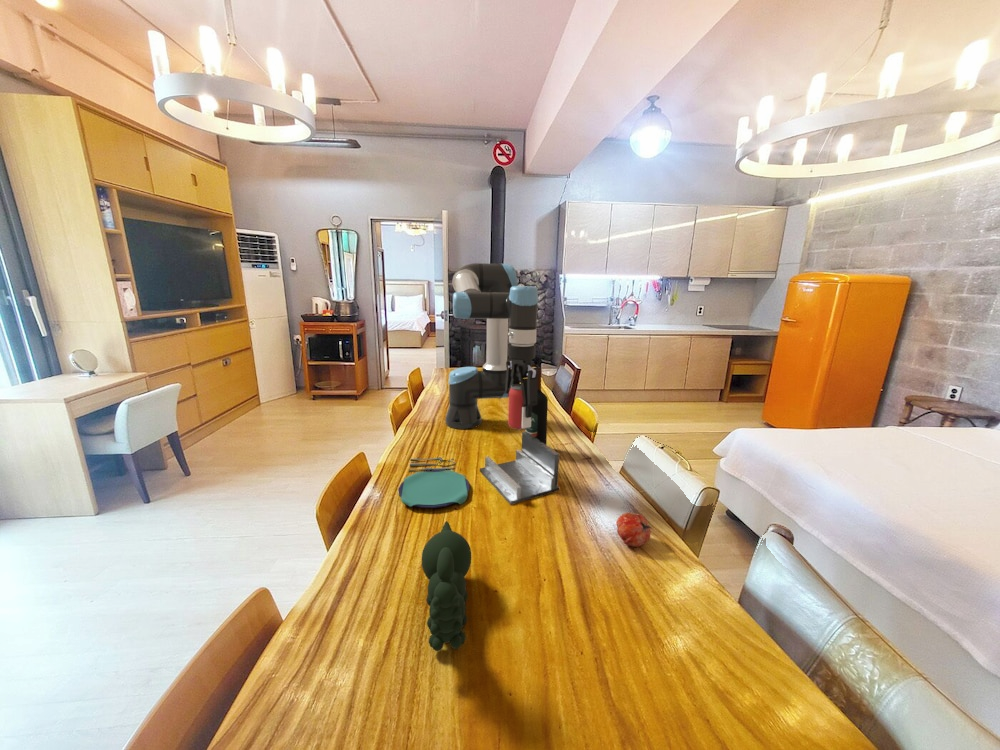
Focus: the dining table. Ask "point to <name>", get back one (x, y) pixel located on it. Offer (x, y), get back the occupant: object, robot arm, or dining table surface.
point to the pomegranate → (633, 529)
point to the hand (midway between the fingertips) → (519, 422)
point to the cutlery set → (433, 487)
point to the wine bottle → (539, 413)
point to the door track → (525, 472)
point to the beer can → (515, 407)
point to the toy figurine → (446, 586)
